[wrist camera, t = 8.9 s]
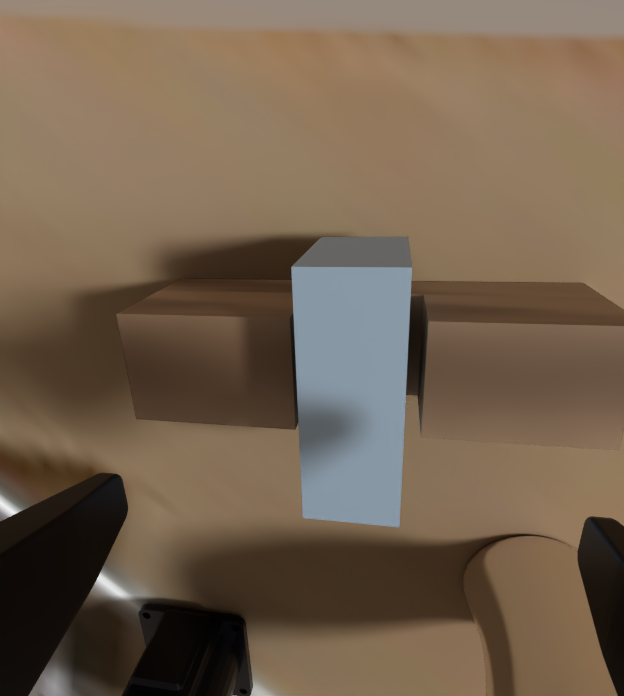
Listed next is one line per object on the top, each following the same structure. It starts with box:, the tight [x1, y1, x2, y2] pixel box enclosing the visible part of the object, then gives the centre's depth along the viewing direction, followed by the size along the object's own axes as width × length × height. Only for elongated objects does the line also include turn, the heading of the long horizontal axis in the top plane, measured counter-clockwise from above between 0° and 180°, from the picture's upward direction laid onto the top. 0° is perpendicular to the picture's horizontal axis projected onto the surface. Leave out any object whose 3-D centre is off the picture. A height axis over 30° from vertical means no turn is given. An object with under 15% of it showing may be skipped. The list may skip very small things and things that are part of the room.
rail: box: [116, 279, 624, 451], centre depth 17 cm, size 4×16×5 cm, turn 92°
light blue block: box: [291, 237, 412, 527], centre depth 15 cm, size 8×3×5 cm, turn 2°
